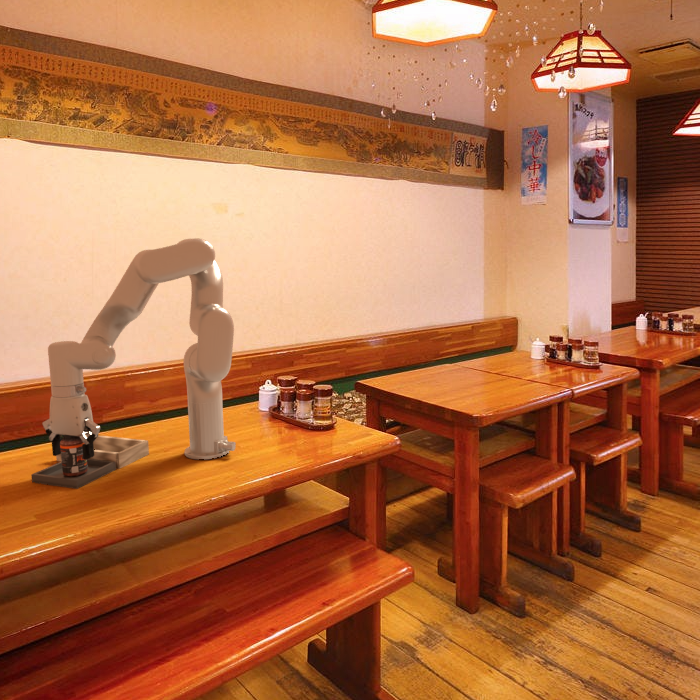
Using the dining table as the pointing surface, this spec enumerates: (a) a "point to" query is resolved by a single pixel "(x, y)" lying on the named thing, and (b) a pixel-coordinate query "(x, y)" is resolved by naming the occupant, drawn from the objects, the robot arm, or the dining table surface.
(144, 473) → the dining table surface
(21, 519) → the dining table surface
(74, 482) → the tray
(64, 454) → the supplement bottle
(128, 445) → the bay
